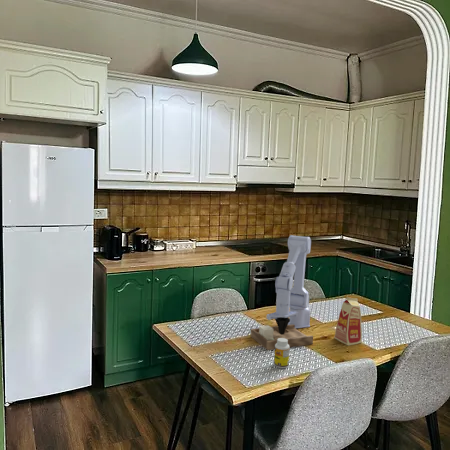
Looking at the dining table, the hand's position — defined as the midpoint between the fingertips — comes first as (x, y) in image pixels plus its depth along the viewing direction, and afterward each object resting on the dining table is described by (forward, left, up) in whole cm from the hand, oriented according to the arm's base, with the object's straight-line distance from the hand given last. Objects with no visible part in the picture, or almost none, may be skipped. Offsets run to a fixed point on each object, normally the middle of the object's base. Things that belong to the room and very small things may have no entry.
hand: (281, 333), depth 192 cm
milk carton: (-29, +9, -3) cm, 30 cm away
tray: (0, 0, -3) cm, 3 cm away
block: (+8, 0, -1) cm, 8 cm away
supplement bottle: (+13, +23, -3) cm, 27 cm away
